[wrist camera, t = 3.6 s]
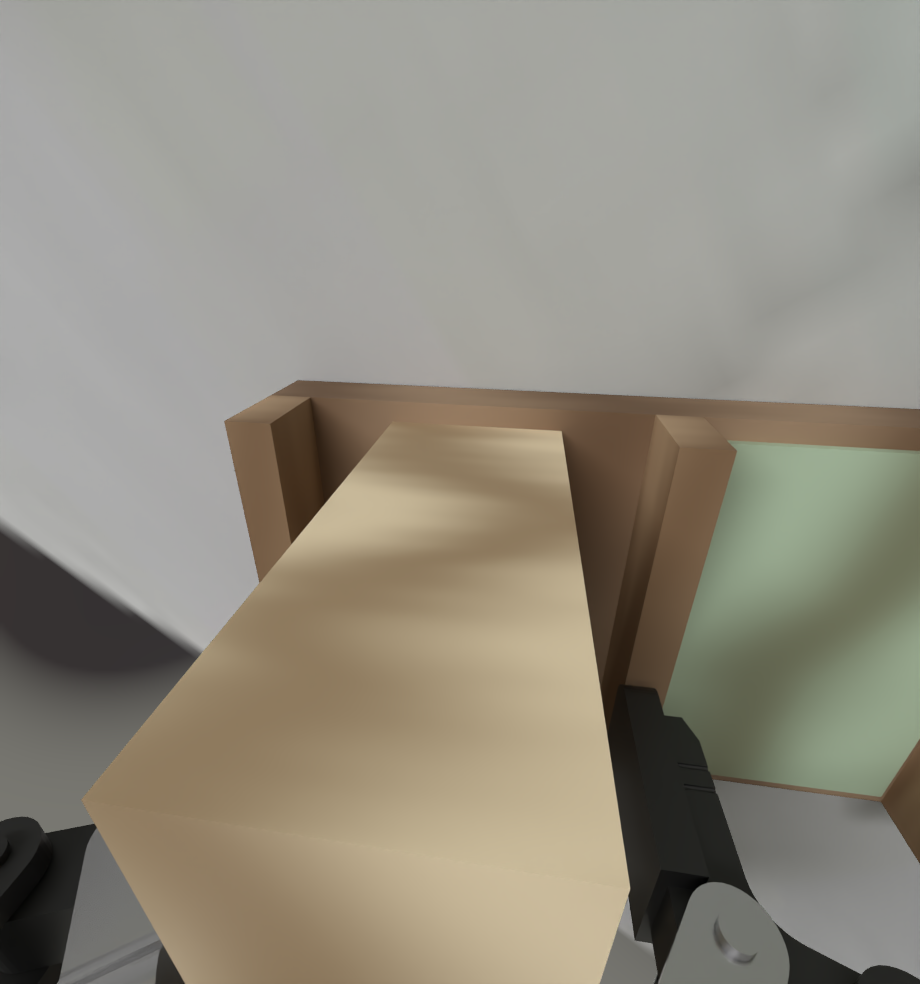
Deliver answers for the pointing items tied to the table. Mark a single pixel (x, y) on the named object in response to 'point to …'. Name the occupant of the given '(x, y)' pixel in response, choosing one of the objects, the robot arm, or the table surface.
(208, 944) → the tall beige wooden block
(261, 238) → the table surface
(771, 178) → the table surface
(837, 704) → the notched rack
